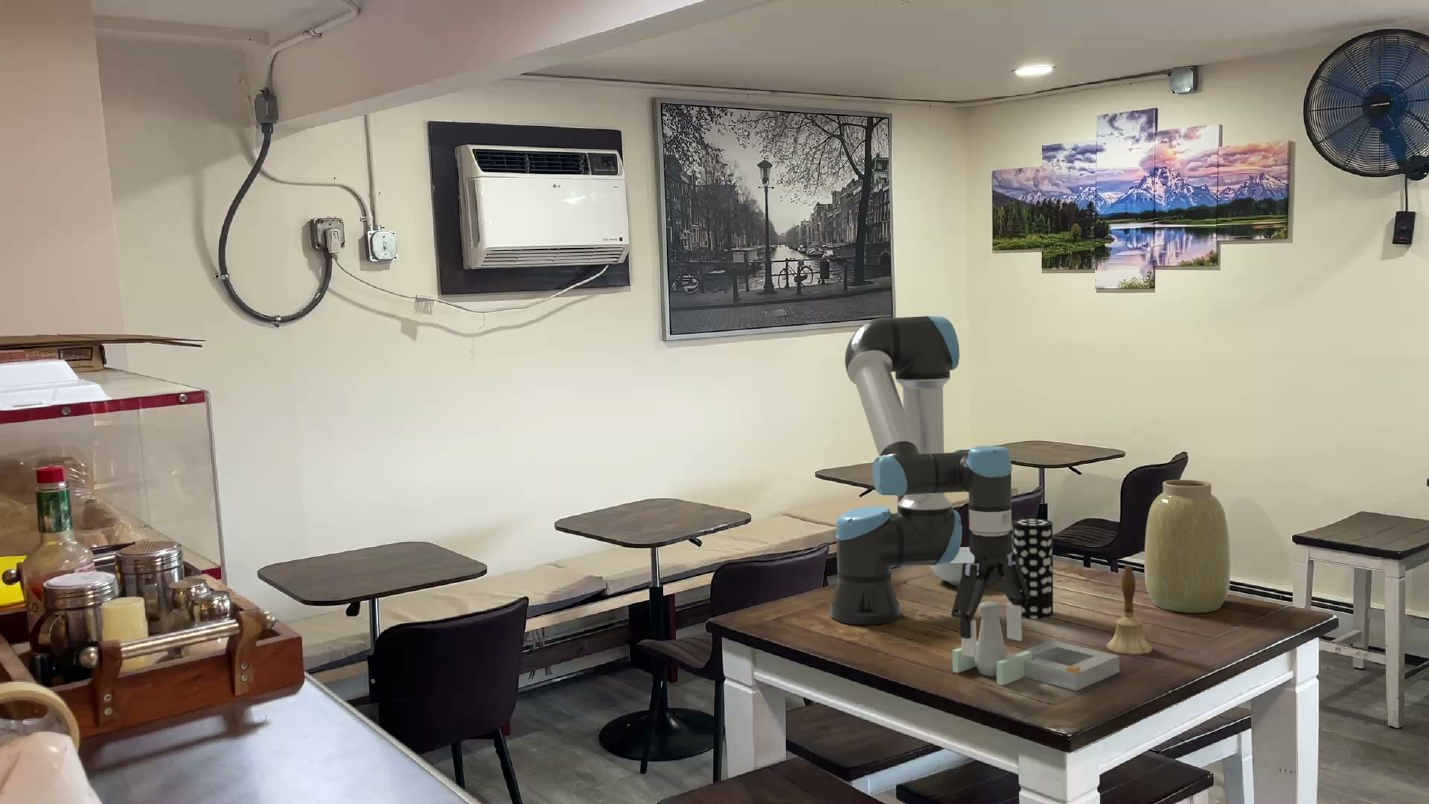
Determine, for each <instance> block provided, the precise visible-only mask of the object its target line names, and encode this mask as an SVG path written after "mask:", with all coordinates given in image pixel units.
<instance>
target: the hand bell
mask: <svg viewBox="0 0 1429 804" xmlns="http://www.w3.org/2000/svg"><path fill="white" fill-rule="evenodd" d="M1120 582H1121V583H1120V584H1121V585H1120V586H1121V591H1122V595H1123V600H1124V604H1123V605H1124V607H1123V612H1124V613H1123V616H1122V617H1121V618H1119V619H1117V621H1116V626H1115V631H1114V635H1113V637H1112V638H1111V640H1110V641H1108V642H1107V644H1106V649H1107V650H1109V651H1111V652H1113V653H1117V654H1122V655H1132V656H1134V655H1135V656H1136V655H1144V654H1145V655H1146V654H1149V653H1152V652H1153V647H1152V645H1151V644H1150V643H1149V642H1148V641H1147V640H1146V638H1145V635H1144V631H1143V627H1142V622H1141V621H1140V620H1139V619H1138V618H1136V617H1135V616H1134V596H1135V592H1136V586H1137V585H1136V577H1135V575H1134V571H1133V567H1132V566H1124V569H1123V572H1122V575H1121V581H1120Z"/></svg>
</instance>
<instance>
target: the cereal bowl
mask: <svg viewBox="0 0 1429 804" xmlns="http://www.w3.org/2000/svg"><path fill="white" fill-rule="evenodd" d="M974 559H975V557H974V555H973V554H972V553H971V552H970V549H969V547H968V546H967V547H961V546H960V549H959V552H958V554H957V556H956V558H955V559H954V560H953V561H951V562H950V563H945V564H937V565H935V566H931V565H930V567H931V569H932V572H933V574H935V576H936V577H938V578H939V579H941V580H943V581H946V582H948V583H949V584H950V585H952V586H957V587H959V584H960V580H961V577H962V565H963V563H968V564H973V563H974ZM978 581H980V580H979V579H978Z"/></svg>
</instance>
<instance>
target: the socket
mask: <svg viewBox="0 0 1429 804" xmlns="http://www.w3.org/2000/svg"><path fill="white" fill-rule="evenodd" d="M1024 651H1029V652H1032V658H1029V659H1027V660H1024V677H1023V678H1025V679H1026V678H1027V679H1030V680H1035V681H1036V682H1037V681H1038V682H1042V683H1046V684H1049V685H1053V686H1056V687H1060V688H1064V689H1068V690H1070V691H1073V692H1074V691H1075V692H1077V691H1079V690H1082V689H1084V688H1086V687H1088V686H1091V685H1093V684H1095V683H1098V682H1100V681H1103V680H1104V679H1107V678H1109V677H1111V676H1114V675H1116V674H1118V673H1120V655H1116V654H1113V653H1108V652H1103V651H1100V650H1096V649H1091V648H1087V647H1084V646H1083V647H1082V646H1079V645H1074V644H1071V643H1067V642H1066V643H1065V642H1061V641H1056V640H1054V639H1050V640H1048V641H1045V642H1043V643H1039V644H1037V645H1035V646H1032V647H1028V648H1027V649H1024V650H1021V651H1019V652H1015V653H1013V654H1010V655H1008V656H1007V658H1008V657H1011V656H1014V655H1016V654H1019V653H1022V652H1024Z"/></svg>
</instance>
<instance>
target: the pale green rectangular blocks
mask: <svg viewBox="0 0 1429 804" xmlns="http://www.w3.org/2000/svg"><path fill="white" fill-rule="evenodd" d="M977 643H978V640H976V649H977ZM951 651H952V657H951V658H952V672H953V673H956V674H959V673H962V672H965V671H966V670H967V671H968V670H969V669H972V667H973V668H975V667H977V665H976V663H975V657H971V656H967V655H964V654H962V646H961V647H957V648H954V649H953V650H951ZM1023 651H1024V650H1023ZM1015 654H1016V653H1015ZM1029 658H1032V652H1029V651H1024V652H1022V653H1019V654H1016V655H1014V656H1011V657H1008V656H1007V658H1006V659H1003V660H1000V661H998V662H996V663H997V676H996V685H998V686H1005V685H1007V684H1010V683H1012V682H1014V681H1017V680H1020V679H1022V678H1025V677H1024V660H1027V659H1029Z"/></svg>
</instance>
